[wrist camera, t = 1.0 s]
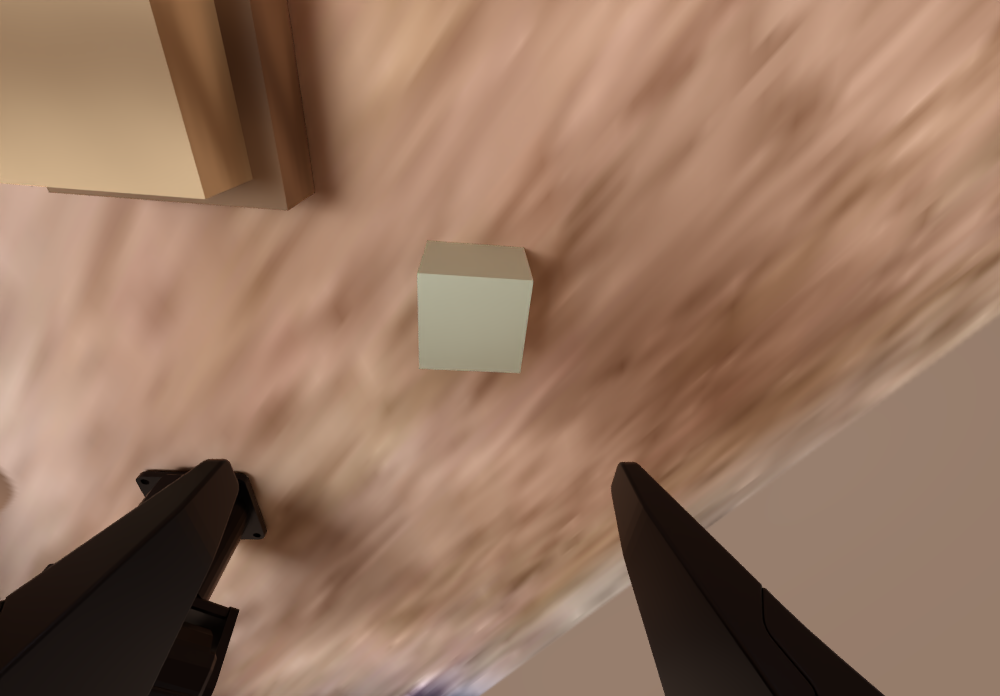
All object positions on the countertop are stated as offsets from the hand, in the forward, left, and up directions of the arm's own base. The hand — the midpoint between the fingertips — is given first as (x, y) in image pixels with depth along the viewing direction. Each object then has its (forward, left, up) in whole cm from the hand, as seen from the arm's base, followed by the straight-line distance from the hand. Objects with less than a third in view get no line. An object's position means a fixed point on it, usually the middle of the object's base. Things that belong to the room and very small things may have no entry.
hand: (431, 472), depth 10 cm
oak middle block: (+7, +10, -9) cm, 15 cm away
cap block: (-1, -1, -12) cm, 12 cm away
